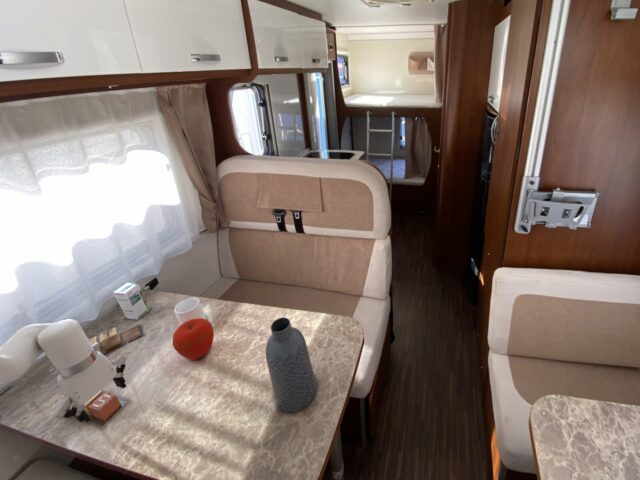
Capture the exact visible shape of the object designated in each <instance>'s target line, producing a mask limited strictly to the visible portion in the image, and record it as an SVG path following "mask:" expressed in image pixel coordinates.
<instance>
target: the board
mask: <svg viewBox="0 0 640 480" xmlns="http://www.w3.org/2000/svg"><path fill="white" fill-rule="evenodd" d="M143 336H144V335H143V332H142V329H141V325H140V324H138V325H136V326H134V327H132V328H130V329H127V330H125V331H123V332H121V333H119V332H118V330H117V328H116V327H113V328H110V329H108V330H106V331H104V332H102V333H100V334H99V339H98V337H97V336H96V335H95V336H93V337H91V338H88V339H89V341H90V342H91V344H92V345H93V344H95V343H97V342H98V343H99V344H100V346H99V347H98V348H97V351H99V352H100V353H102V354H103V355H104V356H105V355H107V354H108V353H110V352H113V351H115V350H117V349H119V348H121V347H123V346H124V345H126V344H127V343H131V342H133V341H135V340H137V339H140V338H141V337H143Z"/></svg>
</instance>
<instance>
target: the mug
mask: <svg viewBox="0 0 640 480" xmlns="http://www.w3.org/2000/svg"><path fill="white" fill-rule="evenodd" d="M173 311H174V313H175V316H176V318H177V320H178V323H179V326H180V325H182V324H183V323H184V322H186V321H188V320H191V319H195V318H203V319H206V320H207V318H206V315H205V312H204V310H203V307H202V304H201V302H200V299H199V298H198V297H189V298H186V299H183V300H181V301H179V303H177V304H176V305H175V307H174V310H173Z"/></svg>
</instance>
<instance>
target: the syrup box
mask: <svg viewBox="0 0 640 480" xmlns="http://www.w3.org/2000/svg"><path fill="white" fill-rule="evenodd" d="M113 295H114V297H115V299H116V300H117V303H118V304H119V307H120V308H121V311H122V312H123V314H124V316H125V318H126V319H129V320H140V319H141V318H142V317H143V316H145V315H146V314H147V313H148V312H149V311H150V310H151V308H150V307H149V305H148V303H147V300H146V298H145V296H144V293H143V292H142V290H141V287H140V285H139V284H138V283H135V282H126V283H125V284H124V285H122V286H120V287H119V288H118V289H116V290H114V291H113Z"/></svg>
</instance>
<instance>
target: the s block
mask: <svg viewBox="0 0 640 480" xmlns="http://www.w3.org/2000/svg"><path fill="white" fill-rule="evenodd" d="M118 399H119V398H118V397H117V395H116V394H114V393H110V392H107V391H103V394H102V395H101V396H99V397H98V398H97V399H96V400H95V401H94V402H93V403H92V404H90V405H89V406H88V408H89V409H90V411H91V412H92V414H93V415H94V417H96V418H99V419H102V420H105V421H106V420H107V419H108V418H109V417H110V416H111V415H112V414H113V413H114V412H115V411H116V410H117V409H118V408H119V407H120V406H121V403H120V402H119V400H118Z"/></svg>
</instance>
